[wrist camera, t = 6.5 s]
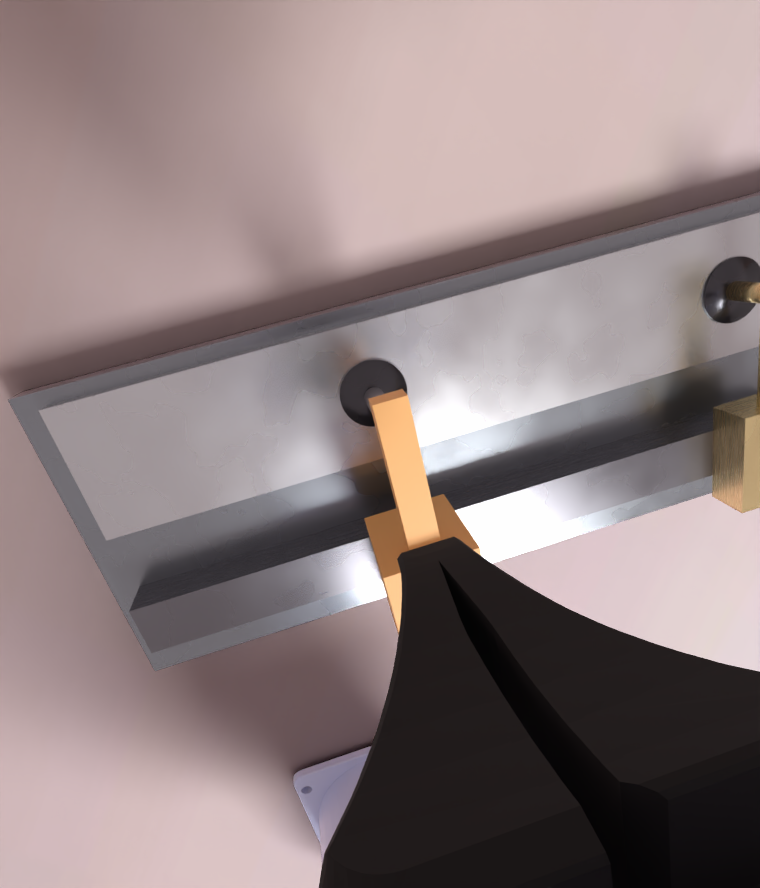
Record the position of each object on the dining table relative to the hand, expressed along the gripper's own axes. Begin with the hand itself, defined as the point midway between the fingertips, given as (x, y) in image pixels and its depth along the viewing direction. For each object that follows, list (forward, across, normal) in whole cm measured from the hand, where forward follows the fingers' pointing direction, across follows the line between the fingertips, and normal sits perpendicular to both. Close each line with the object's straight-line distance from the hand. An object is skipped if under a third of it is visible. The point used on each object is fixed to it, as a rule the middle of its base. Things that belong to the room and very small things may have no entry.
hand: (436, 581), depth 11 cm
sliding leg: (+8, -1, +1) cm, 8 cm away
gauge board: (+10, -4, +1) cm, 11 cm away
